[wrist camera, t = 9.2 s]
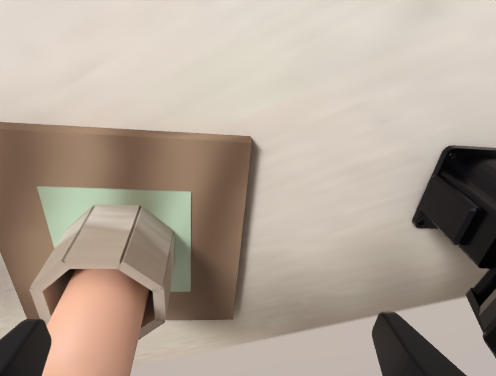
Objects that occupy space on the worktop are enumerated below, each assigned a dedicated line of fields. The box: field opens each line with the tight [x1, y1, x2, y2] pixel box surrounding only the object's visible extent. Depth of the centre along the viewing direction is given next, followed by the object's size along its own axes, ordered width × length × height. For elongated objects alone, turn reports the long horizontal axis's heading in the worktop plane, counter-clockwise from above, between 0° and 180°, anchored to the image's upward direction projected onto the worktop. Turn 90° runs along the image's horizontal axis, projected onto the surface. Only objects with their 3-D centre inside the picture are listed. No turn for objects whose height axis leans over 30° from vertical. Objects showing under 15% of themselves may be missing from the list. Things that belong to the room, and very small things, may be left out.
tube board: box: [0, 122, 252, 340], centre depth 20 cm, size 16×16×6 cm
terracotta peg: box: [42, 269, 149, 376], centre depth 18 cm, size 4×4×9 cm
